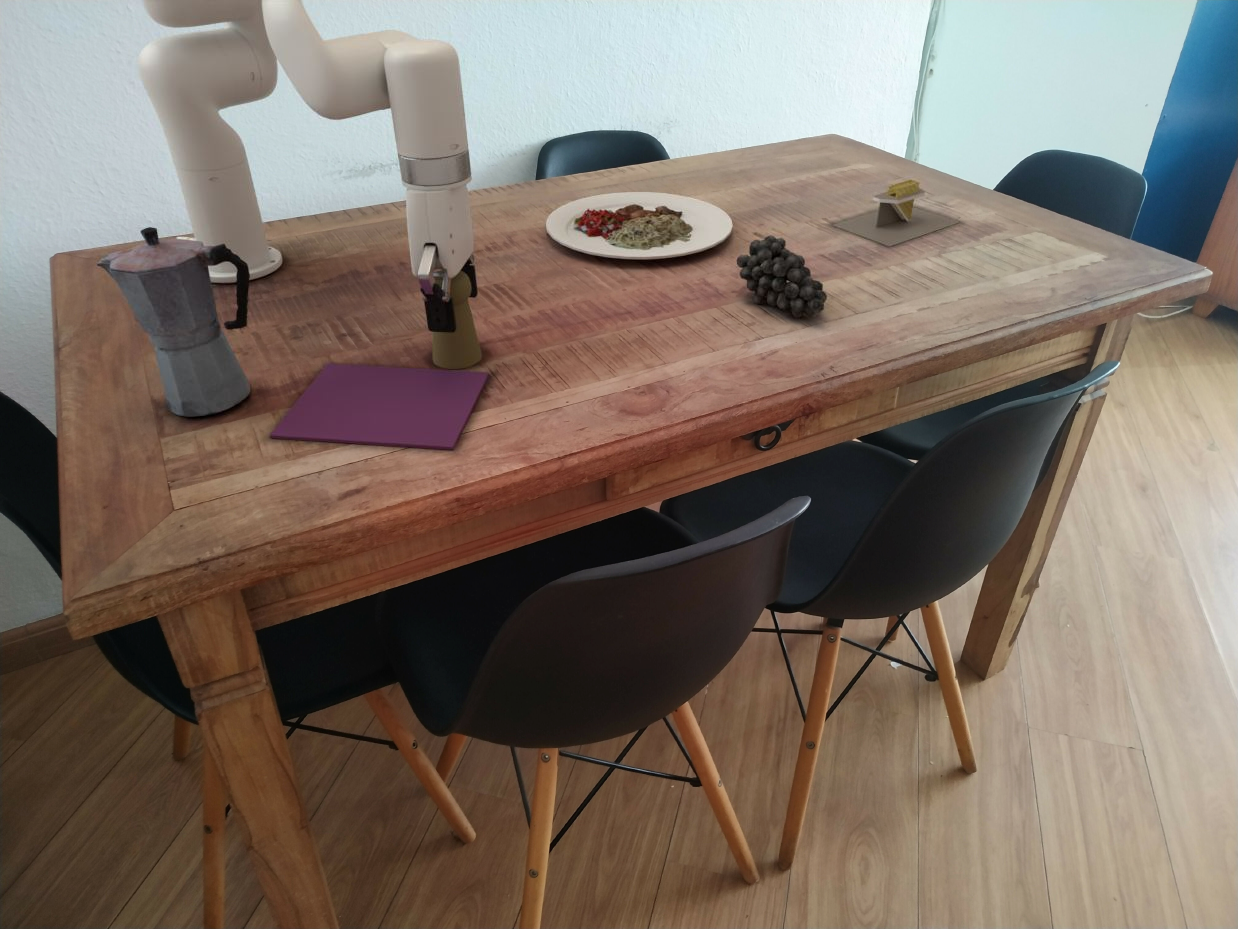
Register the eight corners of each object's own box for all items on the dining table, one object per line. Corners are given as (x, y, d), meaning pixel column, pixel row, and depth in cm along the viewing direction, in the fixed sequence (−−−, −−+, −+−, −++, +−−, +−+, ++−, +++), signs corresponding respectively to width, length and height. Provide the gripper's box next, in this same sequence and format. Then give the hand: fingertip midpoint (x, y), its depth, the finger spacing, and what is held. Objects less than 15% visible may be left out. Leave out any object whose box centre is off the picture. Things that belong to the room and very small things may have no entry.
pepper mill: (472, 371, 106) (463, 285, 100) (424, 366, 107) (412, 281, 101) (488, 348, 111) (480, 264, 105) (442, 343, 112) (432, 261, 106)
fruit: (842, 258, 111) (770, 219, 122) (789, 290, 110) (721, 248, 120) (849, 313, 117) (779, 271, 128) (799, 344, 116) (733, 299, 126)
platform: (959, 222, 148) (968, 182, 144) (889, 246, 139) (896, 205, 135) (901, 203, 156) (908, 165, 152) (831, 224, 147) (837, 185, 143)
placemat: (270, 438, 94) (269, 435, 94) (327, 366, 108) (327, 363, 107) (453, 450, 93) (452, 446, 92) (489, 375, 106) (489, 372, 105)
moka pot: (158, 380, 105) (101, 214, 93) (292, 374, 106) (252, 209, 94) (129, 423, 97) (63, 247, 86) (273, 416, 98) (227, 242, 87)
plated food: (759, 258, 135) (761, 236, 133) (566, 277, 129) (565, 255, 127) (697, 196, 159) (698, 177, 157) (532, 210, 153) (531, 191, 151)
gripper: (425, 145, 103) (443, 283, 113) (374, 191, 89) (400, 344, 99) (488, 146, 103) (501, 285, 112) (447, 192, 89) (466, 347, 98)
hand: (454, 313), depth 106 cm, fingers open, 9 cm apart
